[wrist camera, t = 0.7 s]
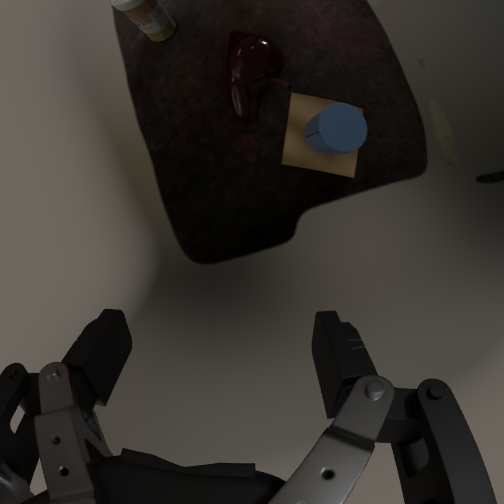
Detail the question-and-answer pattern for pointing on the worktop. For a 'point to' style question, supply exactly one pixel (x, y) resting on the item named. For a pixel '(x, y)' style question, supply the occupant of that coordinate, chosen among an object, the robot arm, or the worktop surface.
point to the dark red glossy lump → (251, 72)
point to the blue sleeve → (336, 130)
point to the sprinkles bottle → (148, 17)
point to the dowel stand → (299, 149)
